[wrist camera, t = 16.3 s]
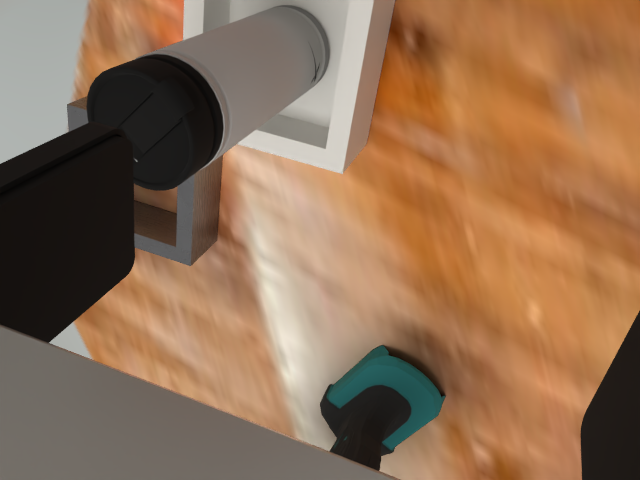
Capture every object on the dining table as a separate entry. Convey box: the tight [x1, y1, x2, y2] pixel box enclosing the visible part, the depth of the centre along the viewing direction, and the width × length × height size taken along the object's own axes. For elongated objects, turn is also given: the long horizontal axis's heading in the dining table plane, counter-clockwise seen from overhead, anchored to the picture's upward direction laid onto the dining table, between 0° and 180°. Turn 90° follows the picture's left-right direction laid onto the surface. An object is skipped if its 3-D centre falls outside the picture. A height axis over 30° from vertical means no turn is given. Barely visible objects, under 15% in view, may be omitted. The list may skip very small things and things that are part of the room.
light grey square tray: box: [183, 0, 395, 174], centre depth 44 cm, size 13×13×6 cm
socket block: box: [67, 97, 223, 266], centre depth 55 cm, size 12×12×5 cm
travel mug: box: [86, 5, 330, 191], centre depth 36 cm, size 6×7×20 cm
